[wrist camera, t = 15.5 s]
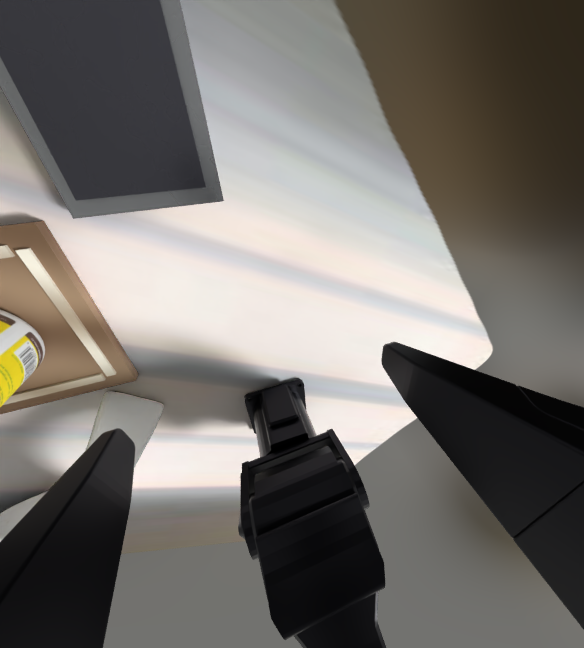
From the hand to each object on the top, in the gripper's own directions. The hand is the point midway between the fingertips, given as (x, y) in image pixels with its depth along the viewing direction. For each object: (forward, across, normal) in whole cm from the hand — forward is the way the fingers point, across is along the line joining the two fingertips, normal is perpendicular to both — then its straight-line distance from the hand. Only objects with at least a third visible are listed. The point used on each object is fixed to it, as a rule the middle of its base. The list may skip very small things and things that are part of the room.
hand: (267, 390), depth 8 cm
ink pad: (+12, +3, -10) cm, 16 cm away
